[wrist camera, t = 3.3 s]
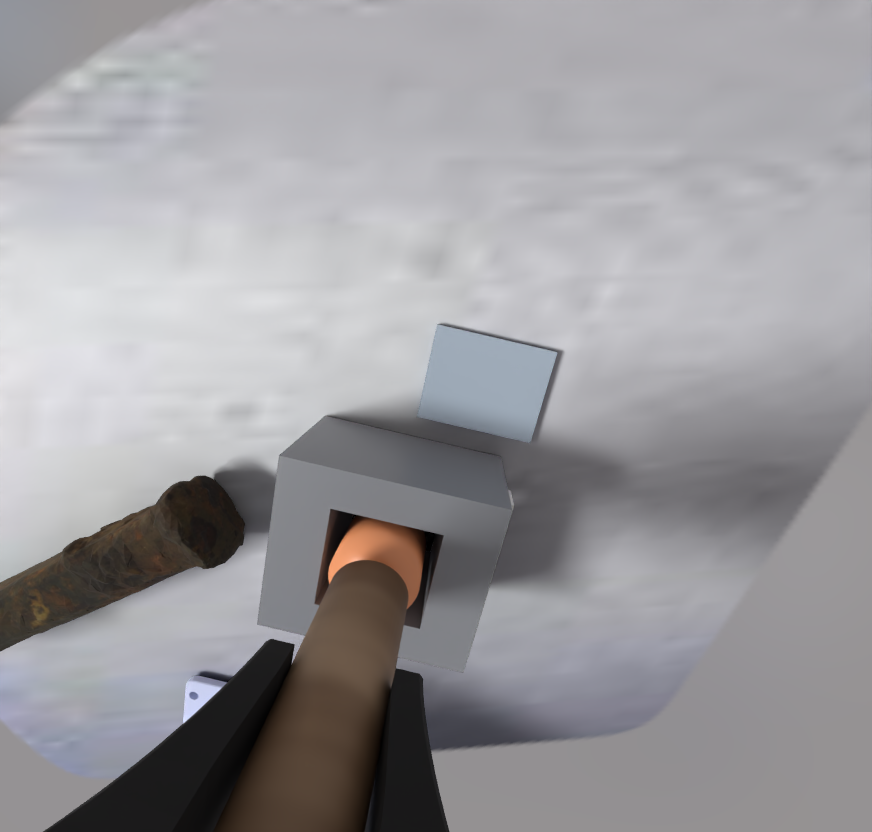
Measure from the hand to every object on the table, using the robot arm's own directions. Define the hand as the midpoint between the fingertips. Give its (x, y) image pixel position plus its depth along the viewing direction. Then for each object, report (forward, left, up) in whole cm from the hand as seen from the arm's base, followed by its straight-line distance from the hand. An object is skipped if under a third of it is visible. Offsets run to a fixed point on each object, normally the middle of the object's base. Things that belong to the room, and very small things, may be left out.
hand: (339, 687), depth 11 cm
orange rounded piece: (0, 0, -7) cm, 7 cm away
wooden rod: (0, 0, -3) cm, 3 cm away
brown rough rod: (-8, +15, -10) cm, 20 cm away
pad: (+6, -2, -10) cm, 12 cm away
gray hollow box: (0, 0, -10) cm, 10 cm away
